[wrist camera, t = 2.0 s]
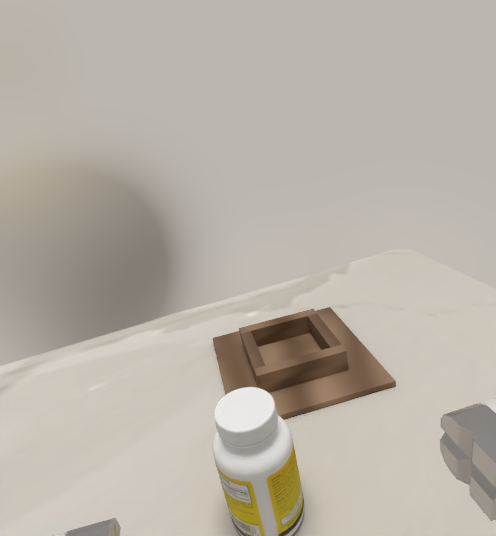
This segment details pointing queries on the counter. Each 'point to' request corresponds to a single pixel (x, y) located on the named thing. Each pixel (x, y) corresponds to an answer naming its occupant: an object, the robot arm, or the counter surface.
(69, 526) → the counter surface
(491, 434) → the robot arm
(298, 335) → the walnut can holder
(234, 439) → the supplement bottle
